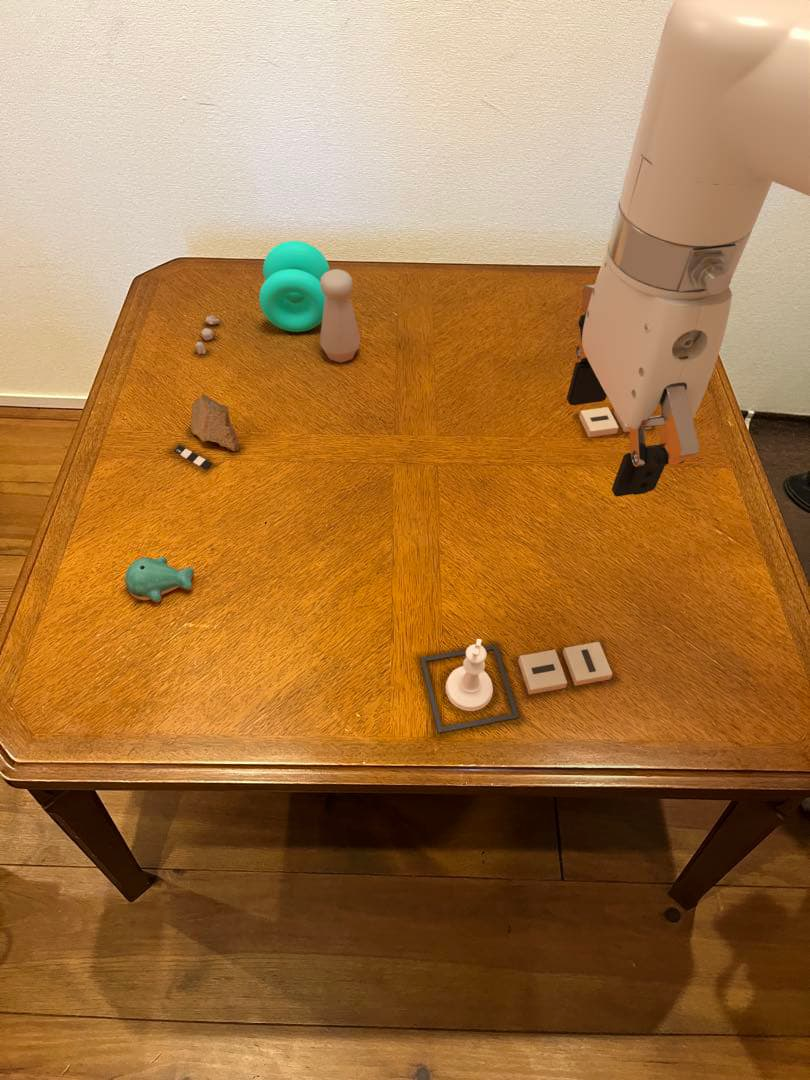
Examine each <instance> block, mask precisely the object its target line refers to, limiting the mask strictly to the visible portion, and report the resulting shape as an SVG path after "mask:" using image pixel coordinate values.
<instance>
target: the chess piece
mask: <svg viewBox="0 0 810 1080" xmlns="http://www.w3.org/2000/svg"><path fill="white" fill-rule="evenodd" d="M482 643H483V639H481V638H477V639H476V642H475V643H473V644H470V645H468V647H467V648H466V649H465V650H466V655H465V657H464V660H463V663H462V665H461V666H459V667H456V668H455V669H453V670H452V672H451V673H450V674H449V676H448V677H447V679H446V682H445V693H446V696H447V698H448V700H449V702H451V704H452V705H453V706H455V707H456V708H458V709H460V710H462V711H465V712H466V711H467V712H474V711H479V710H481V709H483V708H484V707H486V706H487V705H489V703H490V701H491V699H492V698H493V693H494V687H493V682H492V678H491V677H490V675H489V674H488V673H487V672H486V671H485V668H486V663H485V661H486V659H487V656H488V654H487V652H488V651H486V650H485V648H484V646H483V645H482Z"/></svg>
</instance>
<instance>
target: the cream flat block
mask: <svg viewBox="0 0 810 1080" xmlns="http://www.w3.org/2000/svg"><path fill="white" fill-rule="evenodd" d="M612 412H613V414H614V415H613V414H612ZM612 412H611V410H610V408H609V406H605V407H597V408H590V409H583V410H582V409H581V410H580V411H579V415H578V418H579V419H580V422H581V425H582V427H583V428H584V431H585V432H586V434H587V437H588V438H594V437H595V438H596V437H602V436H608V435H616V434H617V433H618V430H619V427H620V428H621V430H622V432H623V433H630V429H629V427H628V426H627V425H626V424H625V423H623V421H622V420H621V419H620V418H619V416H618V414H617V413H616V411H615V409H614V408H613V411H612ZM614 416H615V417H614ZM615 418H616V419H615ZM616 420H617V421H616ZM617 422H618V423H617ZM618 424H619V425H618ZM652 428H653V427H647V428H645V430H650V429H652Z"/></svg>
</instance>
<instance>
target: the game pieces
mask: <svg viewBox="0 0 810 1080" xmlns="http://www.w3.org/2000/svg"><path fill="white" fill-rule="evenodd" d="M205 323H206V324H208V325H211V326H215V325H217V324H220V323H221V322H220V319H217V317H216V315H214V314H211V315H208V316H206V317H205ZM201 337H202V339H203V340H204V341H206V342H210V341H212V340H213V338H214V334H213V330H212V329H211V328H207V327H206V328H203V329H202V330H201ZM194 347H195V350H196V352H197V355H205V354H206V352H207V350H206V347H205V344H204V343H203V342H202V341H196V344H194Z"/></svg>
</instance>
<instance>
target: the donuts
mask: <svg viewBox="0 0 810 1080" xmlns="http://www.w3.org/2000/svg"><path fill="white" fill-rule="evenodd" d="M330 270H331V269H330V265H329V263H328V261H327V258H326V257H325V255H324V254H323V253H322V252H321V251H320V250H319V249H318V248H316V247H315V246H313V245H311V244H310V243H307V242H304V241H299V240H289V241H284V242H281V243H279V244H277V245H275V246H274V247H273V248H272V249H271V250H269V252H268V253H267V254H266V255H265V258H264V262H263V267H262V273H263V278H264V282H263V283H262V285H261V287H260V290H259V295H258V296H259V297H258V301H259V306H260V309H261V312H262V314H263V315H264V316H265V318H266V319H267V320H268V321H269V322H270V324H272V325H274V326H275V327H277V328H278V329H281V330H284V331H287V332H291V333H301V332H307V331H310V330H313V329H314V328H316V327H317V326H319V325H320V324H322V318H323V310H324V302H325V295H324V294H323V292H322V290H321V277H322V276H323V274H324V273H326V272H327V271H330Z"/></svg>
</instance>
